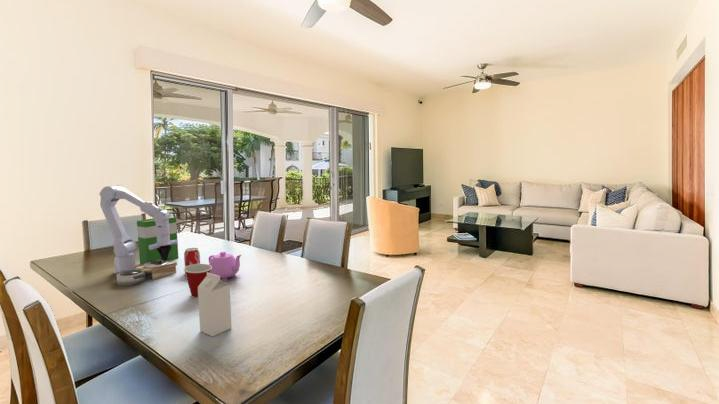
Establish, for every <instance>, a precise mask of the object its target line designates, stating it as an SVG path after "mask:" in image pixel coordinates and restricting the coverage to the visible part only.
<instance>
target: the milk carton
mask: <svg viewBox="0 0 719 404" xmlns="http://www.w3.org/2000/svg"><path fill="white" fill-rule="evenodd" d="M230 287H231V285H230V284H229V283H227V282H226V281H222V279H221V278H220V276H217V275H214V274H211V273H208V272H207V276H206V277H205V279H204V280H203V281H202V282H201V284H200V285H199V286H198V297H197V300H198V301H197V302H198V317H199V331H200V332H201V333H204V334H206V335H208V336H210V337H211V338H212V337H215V336H217V335H220V334H222V333H223V332H226V331H228V330H230V329H232V328H233V326H232V324H233V323H232V310H231V309H232V308H231V307H232V306H231V304H232V303H231V288H230Z"/></svg>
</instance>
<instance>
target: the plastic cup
mask: <svg viewBox="0 0 719 404" xmlns="http://www.w3.org/2000/svg"><path fill="white" fill-rule="evenodd" d="M211 269H212V266H211V265H209V263H208V264H207V263H200V264H193V265H189V266H186V267H185V266H184V267H183V272H184V274H185V277H186V281H187V284H188V288H189V291H190V295H191V296H192V297H193V298H198V286H199V285H200V284H201V282H202V281H203V280H204V279H205V277H206V276H207V272H208V273H210V270H211Z"/></svg>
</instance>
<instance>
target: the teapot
mask: <svg viewBox="0 0 719 404" xmlns="http://www.w3.org/2000/svg"><path fill="white" fill-rule="evenodd" d="M241 256H242V254H238V255H237V256H236V257H235V256H234V255H233V253H227V252H226V251H221V252H219V254H216V255H214V254H212V255H210V256H209V257H208V265H211V266H212V269H211V270H210V273H211V274H214V275H217V276H220V279H221V280H222V281H223V282H226V281H228V278H230V277H231V278H233V277H234V278H235V277H237V275H236V274H237V273H239V271H240V266H241V263H240V258H241Z"/></svg>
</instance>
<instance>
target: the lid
mask: <svg viewBox="0 0 719 404" xmlns="http://www.w3.org/2000/svg"><path fill="white" fill-rule="evenodd" d="M168 262H169V261H158V260H151V262H149V263H146V264H144V267H145V268H157V267H161V266H165V265H167V264H168Z"/></svg>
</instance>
